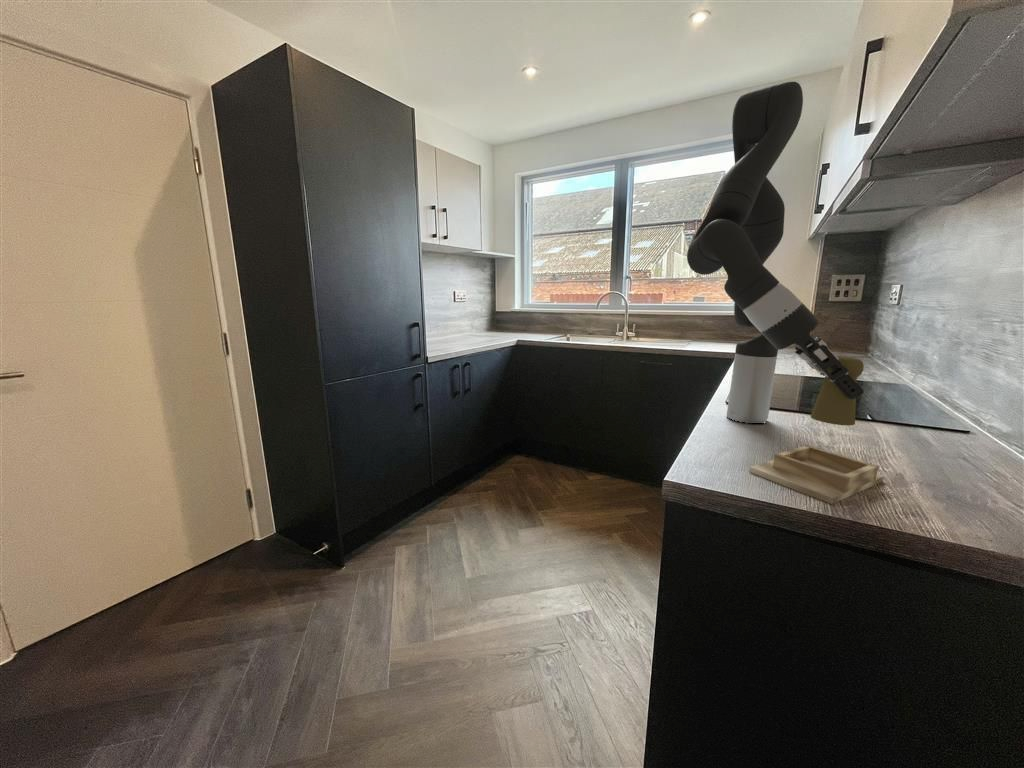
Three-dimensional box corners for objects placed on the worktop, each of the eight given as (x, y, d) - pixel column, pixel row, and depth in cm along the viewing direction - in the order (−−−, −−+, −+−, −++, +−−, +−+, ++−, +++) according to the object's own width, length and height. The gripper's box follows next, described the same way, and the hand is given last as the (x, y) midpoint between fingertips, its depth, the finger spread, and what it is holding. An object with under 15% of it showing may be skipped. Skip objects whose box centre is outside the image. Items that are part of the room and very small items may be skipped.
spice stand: (802, 455, 82) (805, 439, 81) (883, 481, 71) (887, 462, 70) (749, 471, 73) (752, 453, 73) (831, 504, 62) (836, 483, 61)
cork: (813, 421, 67) (826, 356, 65) (807, 413, 73) (818, 352, 70) (859, 427, 65) (874, 360, 63) (849, 418, 70) (862, 356, 68)
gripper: (809, 300, 62) (893, 386, 59) (793, 301, 74) (862, 372, 72) (763, 333, 65) (840, 416, 62) (755, 328, 78) (819, 397, 75)
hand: (851, 392), depth 67 cm, fingers closed on cork, 5 cm apart
